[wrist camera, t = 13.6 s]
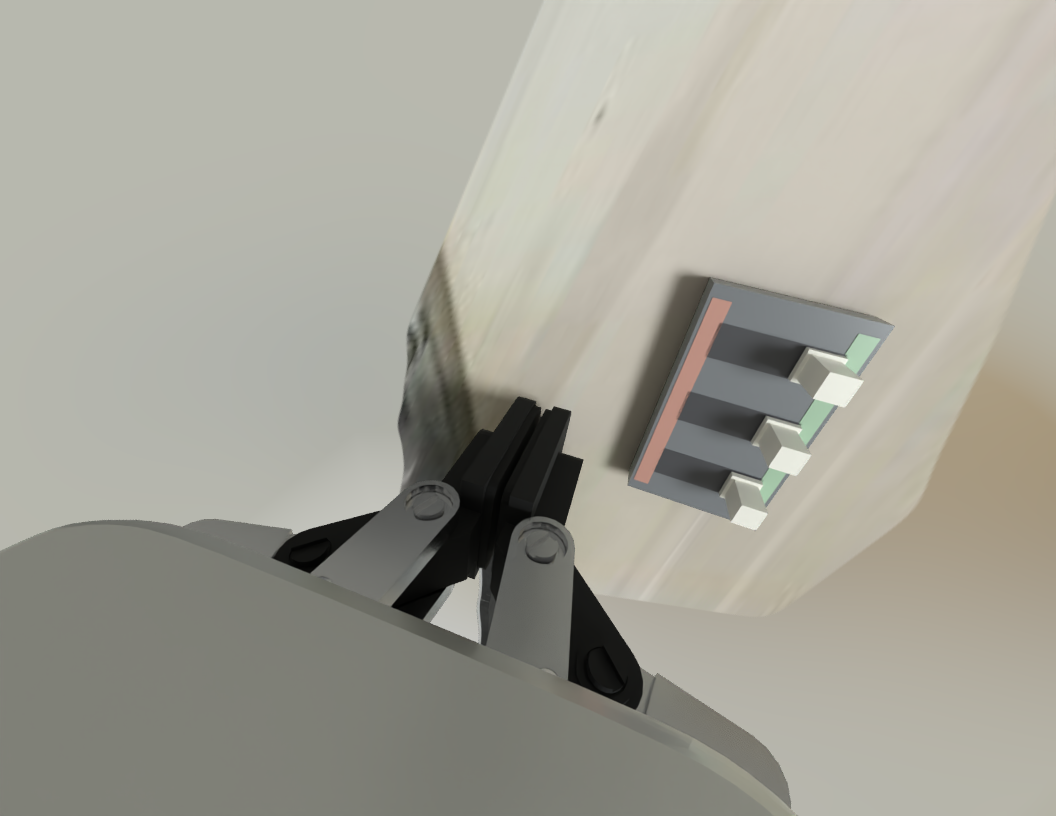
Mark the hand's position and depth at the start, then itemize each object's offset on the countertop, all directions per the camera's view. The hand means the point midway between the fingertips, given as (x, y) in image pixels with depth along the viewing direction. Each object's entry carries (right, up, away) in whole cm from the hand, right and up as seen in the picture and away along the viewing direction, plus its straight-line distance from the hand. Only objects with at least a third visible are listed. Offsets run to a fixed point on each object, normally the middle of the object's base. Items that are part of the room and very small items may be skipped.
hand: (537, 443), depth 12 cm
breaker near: (+21, +4, +16) cm, 27 cm away
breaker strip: (+18, +1, +22) cm, 28 cm away
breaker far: (+19, -6, +22) cm, 30 cm away
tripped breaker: (+20, -1, +19) cm, 28 cm away
